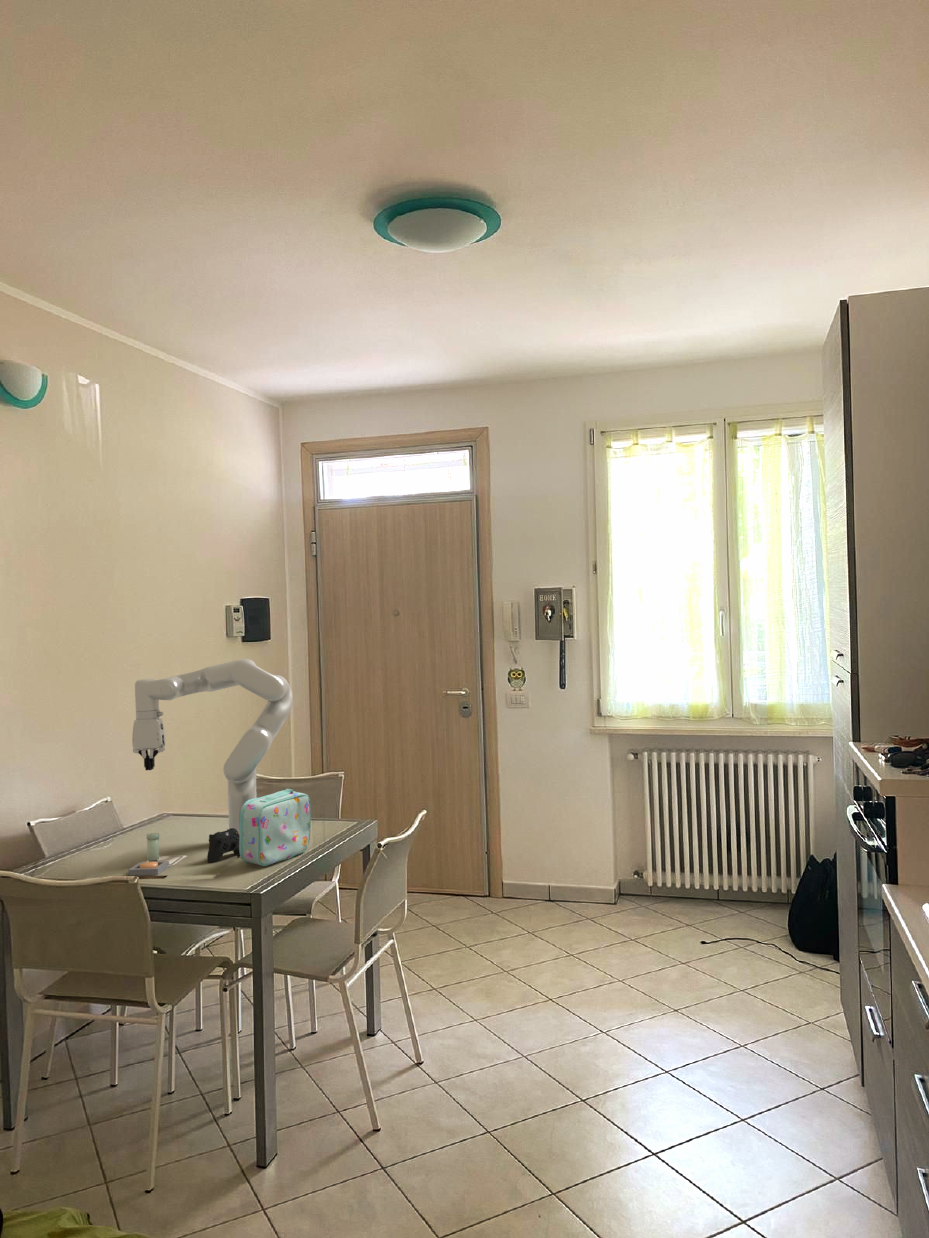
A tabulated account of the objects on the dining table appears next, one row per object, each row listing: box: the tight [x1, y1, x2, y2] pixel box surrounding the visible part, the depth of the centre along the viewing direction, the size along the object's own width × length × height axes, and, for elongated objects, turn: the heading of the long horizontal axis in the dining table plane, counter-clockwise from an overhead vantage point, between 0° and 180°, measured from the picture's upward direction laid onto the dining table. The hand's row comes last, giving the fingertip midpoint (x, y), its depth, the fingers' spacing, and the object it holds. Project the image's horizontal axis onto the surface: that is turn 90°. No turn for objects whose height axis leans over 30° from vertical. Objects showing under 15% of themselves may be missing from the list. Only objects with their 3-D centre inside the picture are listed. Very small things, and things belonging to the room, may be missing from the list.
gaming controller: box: [206, 828, 240, 864], centre depth 298 cm, size 14×6×10 cm, turn 148°
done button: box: [140, 861, 158, 868], centre depth 285 cm, size 5×5×2 cm
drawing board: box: [137, 854, 188, 880], centre depth 292 cm, size 13×24×1 cm, turn 177°
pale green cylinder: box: [146, 832, 160, 862], centre depth 295 cm, size 4×4×9 cm
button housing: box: [127, 861, 170, 876], centre depth 285 cm, size 9×9×2 cm
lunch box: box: [239, 788, 312, 867], centre depth 299 cm, size 27×10×21 cm, turn 152°
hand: (149, 769), depth 318 cm, fingers closed
